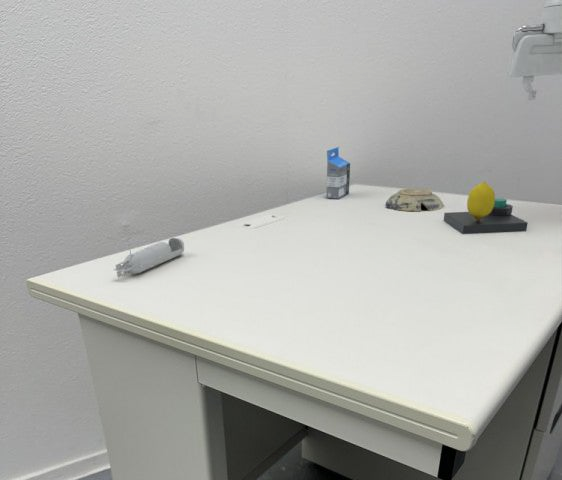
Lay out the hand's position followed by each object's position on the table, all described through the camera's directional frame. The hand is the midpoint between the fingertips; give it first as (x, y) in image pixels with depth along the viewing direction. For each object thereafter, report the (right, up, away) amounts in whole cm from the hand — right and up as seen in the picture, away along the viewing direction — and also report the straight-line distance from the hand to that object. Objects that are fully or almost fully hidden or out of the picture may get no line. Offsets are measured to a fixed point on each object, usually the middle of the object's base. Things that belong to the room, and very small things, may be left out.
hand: (550, 98), depth 118 cm
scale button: (-9, -22, +5) cm, 25 cm away
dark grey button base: (-14, -27, +3) cm, 30 cm away
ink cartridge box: (-43, -10, +36) cm, 56 cm away
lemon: (-16, -27, 0) cm, 31 cm away
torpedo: (-83, -40, -17) cm, 93 cm away
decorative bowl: (-24, -16, +23) cm, 37 cm away
